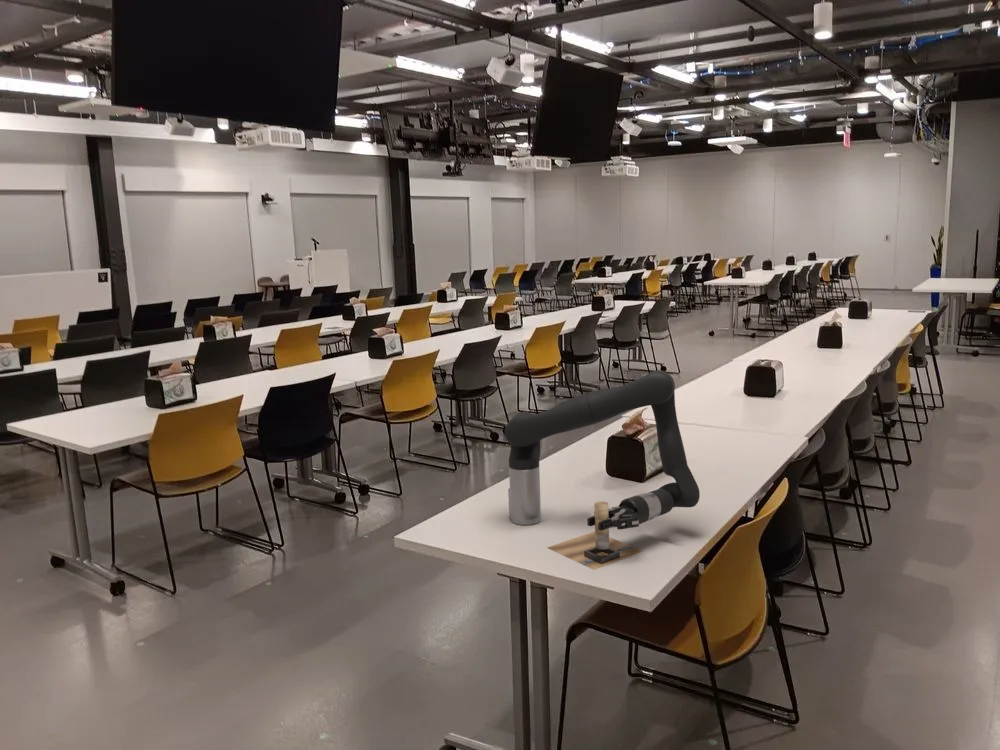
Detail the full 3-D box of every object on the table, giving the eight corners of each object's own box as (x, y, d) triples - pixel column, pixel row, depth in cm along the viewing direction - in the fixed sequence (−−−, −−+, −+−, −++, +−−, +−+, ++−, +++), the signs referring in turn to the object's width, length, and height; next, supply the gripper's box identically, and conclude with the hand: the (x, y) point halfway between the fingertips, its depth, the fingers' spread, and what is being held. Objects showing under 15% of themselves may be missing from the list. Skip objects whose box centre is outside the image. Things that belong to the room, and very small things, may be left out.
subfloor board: (546, 552, 216) (546, 547, 216) (595, 536, 226) (595, 530, 226) (594, 575, 201) (593, 569, 200) (643, 556, 211) (643, 550, 211)
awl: (592, 546, 208) (591, 503, 206) (602, 543, 210) (601, 500, 208) (602, 550, 205) (600, 507, 203) (612, 547, 207) (611, 503, 205)
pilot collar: (584, 556, 209) (584, 551, 208) (602, 549, 213) (602, 544, 212) (601, 564, 203) (601, 558, 203) (619, 557, 207) (619, 552, 207)
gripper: (621, 489, 219) (575, 504, 210) (659, 501, 208) (612, 518, 198) (622, 515, 221) (576, 530, 211) (659, 528, 209) (613, 546, 200)
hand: (593, 524), depth 205 cm, fingers closed on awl, 3 cm apart
